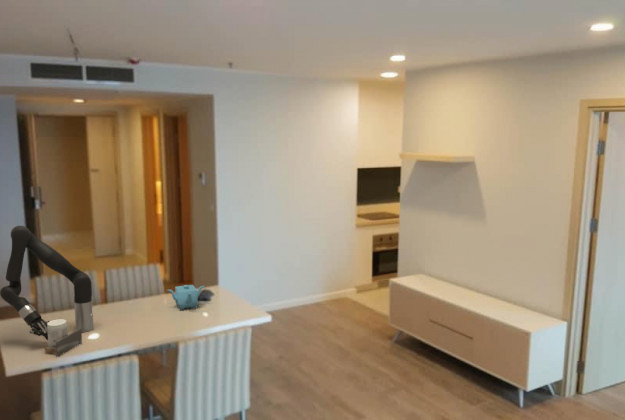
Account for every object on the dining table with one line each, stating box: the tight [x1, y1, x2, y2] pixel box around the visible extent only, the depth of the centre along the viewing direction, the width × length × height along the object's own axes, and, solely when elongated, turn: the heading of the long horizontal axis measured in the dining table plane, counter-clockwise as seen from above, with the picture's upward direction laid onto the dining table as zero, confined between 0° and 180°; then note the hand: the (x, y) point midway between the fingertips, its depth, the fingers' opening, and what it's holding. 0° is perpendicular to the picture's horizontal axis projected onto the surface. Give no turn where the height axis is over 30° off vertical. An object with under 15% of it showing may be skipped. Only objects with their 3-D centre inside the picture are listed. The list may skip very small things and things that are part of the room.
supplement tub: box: [47, 318, 69, 348], centre depth 274 cm, size 10×10×15 cm
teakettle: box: [166, 284, 205, 311], centre depth 342 cm, size 19×19×15 cm
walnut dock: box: [44, 329, 83, 358], centre depth 274 cm, size 9×18×8 cm, turn 166°
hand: (50, 339), depth 276 cm, fingers closed
